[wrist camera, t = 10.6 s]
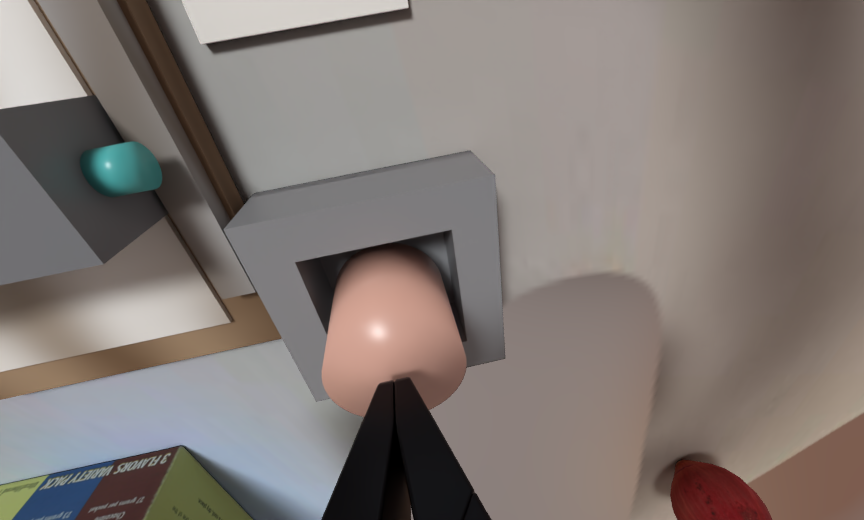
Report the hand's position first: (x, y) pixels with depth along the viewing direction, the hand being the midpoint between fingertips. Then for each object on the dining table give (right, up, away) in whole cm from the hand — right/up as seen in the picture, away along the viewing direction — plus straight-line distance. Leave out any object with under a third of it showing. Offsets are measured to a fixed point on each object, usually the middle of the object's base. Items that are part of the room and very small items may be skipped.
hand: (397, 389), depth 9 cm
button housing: (-1, +3, +6) cm, 7 cm away
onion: (+22, -13, +20) cm, 32 cm away
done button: (-1, +2, +4) cm, 5 cm away
